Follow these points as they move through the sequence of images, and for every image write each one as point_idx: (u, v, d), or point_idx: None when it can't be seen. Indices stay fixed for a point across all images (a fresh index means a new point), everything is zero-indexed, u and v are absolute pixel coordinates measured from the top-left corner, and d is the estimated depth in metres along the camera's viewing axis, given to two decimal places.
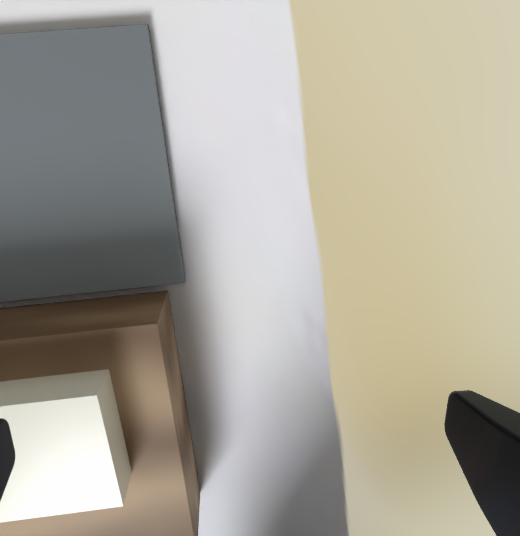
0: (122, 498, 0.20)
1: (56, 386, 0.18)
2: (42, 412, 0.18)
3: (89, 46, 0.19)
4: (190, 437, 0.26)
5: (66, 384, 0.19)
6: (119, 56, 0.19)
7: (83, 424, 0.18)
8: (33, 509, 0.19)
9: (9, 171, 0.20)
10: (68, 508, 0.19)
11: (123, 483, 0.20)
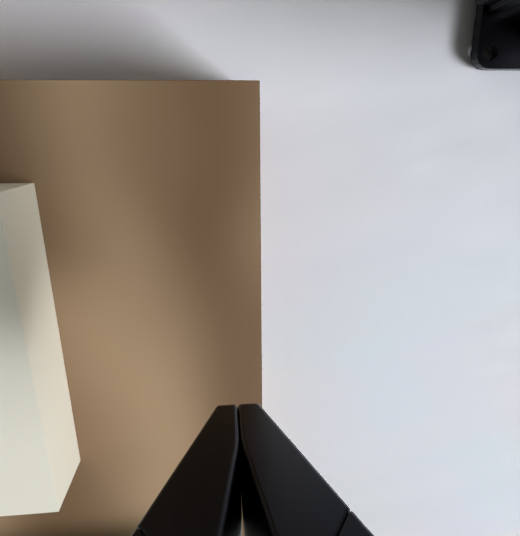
0: None
1: None
2: None
3: None
4: None
5: None
6: None
7: None
8: (6, 352, 0.11)
9: None
10: (4, 296, 0.10)
11: None
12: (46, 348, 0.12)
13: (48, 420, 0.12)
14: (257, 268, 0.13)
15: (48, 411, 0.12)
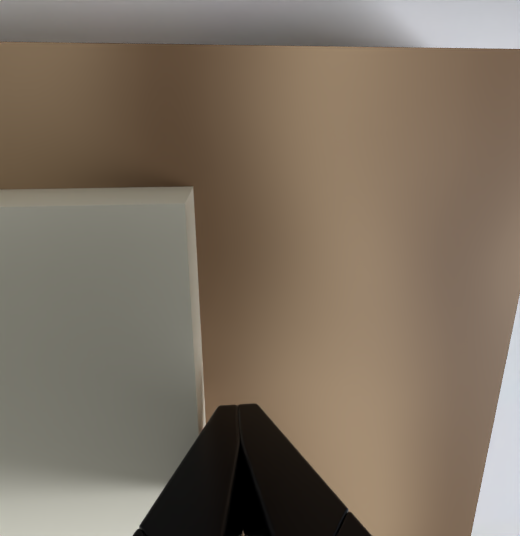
0: (164, 202, 0.06)
1: None
2: None
3: None
4: None
5: None
6: None
7: None
8: (169, 422, 0.08)
9: None
10: (177, 347, 0.07)
11: (140, 198, 0.07)
12: (201, 407, 0.09)
13: None
14: (514, 298, 0.10)
15: None
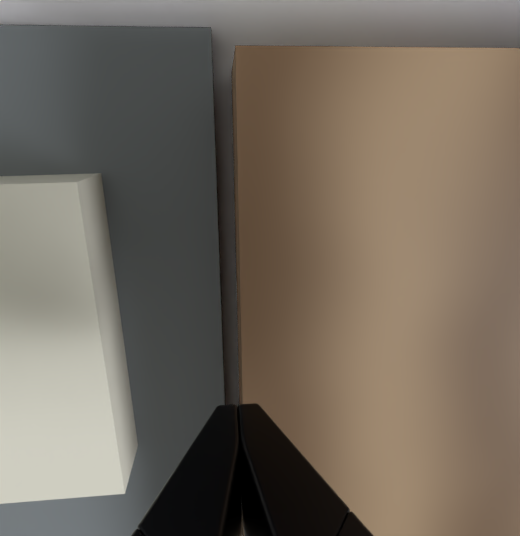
0: None
1: (100, 254, 0.11)
2: None
3: None
4: None
5: (98, 240, 0.11)
6: None
7: None
8: None
9: None
10: None
11: None
12: None
13: None
14: None
15: None
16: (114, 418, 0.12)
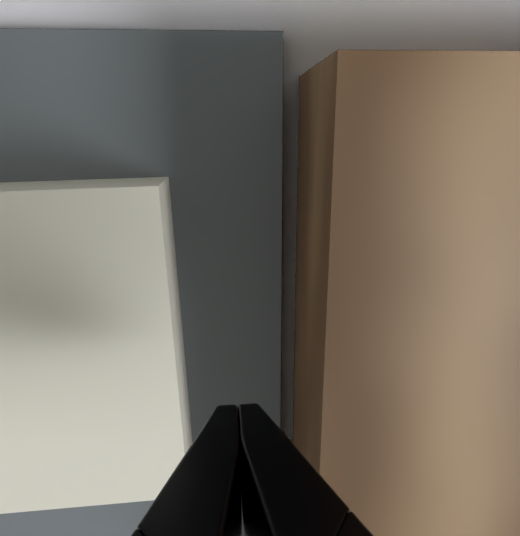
0: None
1: (171, 258, 0.11)
2: None
3: None
4: None
5: (169, 244, 0.11)
6: None
7: None
8: None
9: None
10: None
11: None
12: None
13: None
14: None
15: None
16: (181, 421, 0.12)
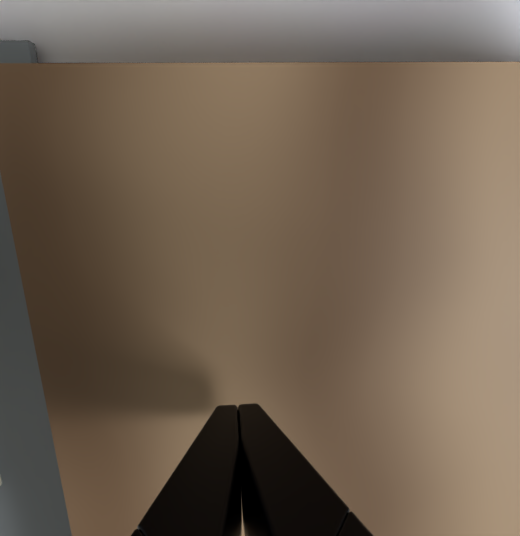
0: None
1: None
2: None
3: None
4: None
5: None
6: None
7: None
8: None
9: None
10: None
11: None
12: None
13: None
14: None
15: None
16: None
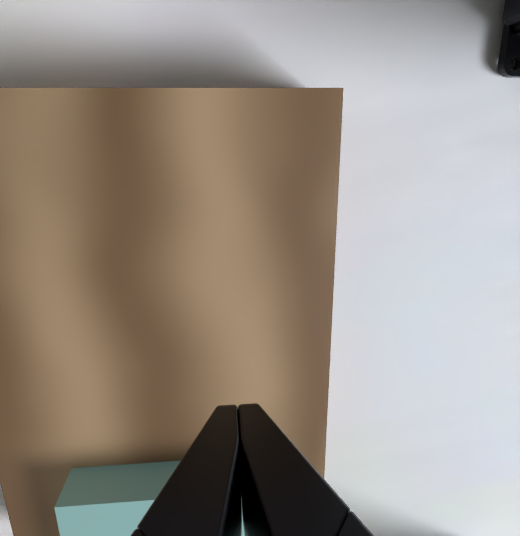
0: None
1: None
2: None
3: None
4: None
5: None
6: None
7: None
8: None
9: None
10: None
11: None
12: None
13: None
14: (333, 234, 0.16)
15: None
16: None
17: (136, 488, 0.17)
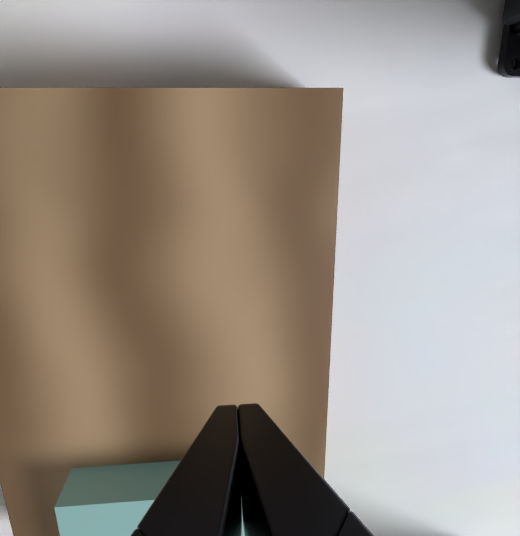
0: None
1: None
2: None
3: None
4: None
5: None
6: None
7: None
8: None
9: None
10: None
11: None
12: None
13: None
14: (333, 234, 0.16)
15: None
16: None
17: (136, 488, 0.17)
